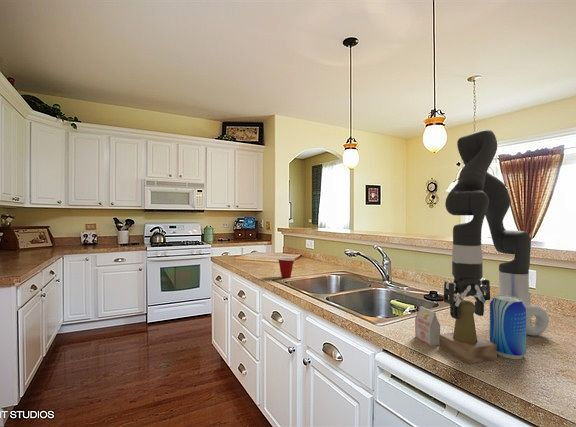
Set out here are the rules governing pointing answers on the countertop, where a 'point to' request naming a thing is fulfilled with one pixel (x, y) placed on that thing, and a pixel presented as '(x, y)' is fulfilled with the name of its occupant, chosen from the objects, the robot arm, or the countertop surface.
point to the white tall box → (427, 326)
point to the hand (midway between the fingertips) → (467, 316)
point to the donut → (540, 322)
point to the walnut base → (468, 349)
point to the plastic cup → (286, 266)
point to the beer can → (508, 326)
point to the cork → (465, 323)
